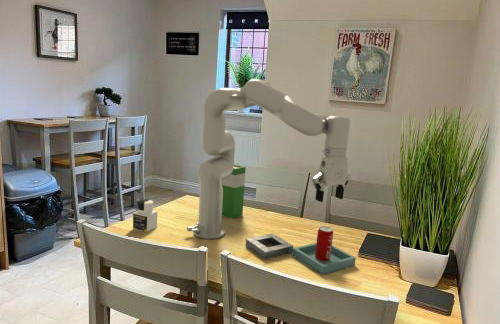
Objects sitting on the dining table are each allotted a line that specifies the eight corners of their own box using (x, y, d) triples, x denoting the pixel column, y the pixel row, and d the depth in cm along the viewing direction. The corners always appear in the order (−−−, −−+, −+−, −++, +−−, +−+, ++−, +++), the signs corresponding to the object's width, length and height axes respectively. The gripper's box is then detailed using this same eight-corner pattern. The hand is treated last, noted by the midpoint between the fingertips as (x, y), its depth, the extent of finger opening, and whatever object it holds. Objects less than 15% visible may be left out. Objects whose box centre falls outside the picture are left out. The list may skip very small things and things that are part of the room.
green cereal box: (205, 209, 179) (207, 162, 174) (215, 206, 185) (217, 160, 180) (232, 219, 169) (235, 169, 164) (242, 215, 175) (245, 166, 170)
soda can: (327, 263, 128) (331, 232, 126) (312, 259, 131) (316, 228, 129) (332, 258, 133) (335, 227, 131) (317, 254, 136) (321, 223, 134)
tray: (322, 275, 121) (323, 266, 121) (292, 255, 134) (292, 248, 134) (354, 265, 130) (355, 257, 129) (323, 248, 143) (324, 240, 142)
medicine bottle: (132, 229, 149) (132, 201, 147) (143, 223, 156) (144, 197, 153) (146, 232, 147) (147, 204, 144) (157, 227, 153) (157, 199, 151)
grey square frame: (264, 259, 130) (265, 252, 129) (245, 245, 140) (246, 238, 140) (292, 253, 137) (293, 245, 136) (272, 240, 147) (273, 233, 147)
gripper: (324, 155, 117) (318, 205, 120) (360, 153, 126) (354, 200, 129) (308, 150, 123) (303, 198, 126) (344, 149, 132) (338, 194, 136)
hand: (329, 199), depth 128 cm, fingers open, 9 cm apart
